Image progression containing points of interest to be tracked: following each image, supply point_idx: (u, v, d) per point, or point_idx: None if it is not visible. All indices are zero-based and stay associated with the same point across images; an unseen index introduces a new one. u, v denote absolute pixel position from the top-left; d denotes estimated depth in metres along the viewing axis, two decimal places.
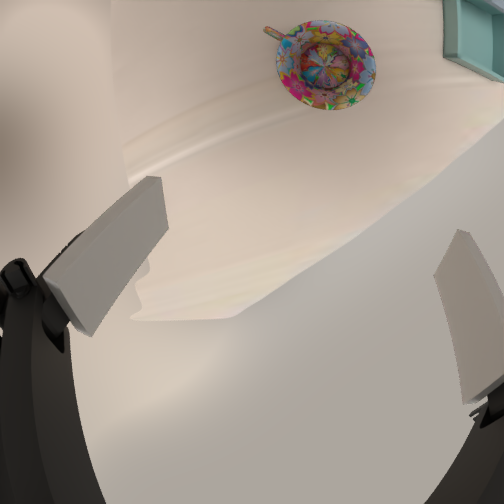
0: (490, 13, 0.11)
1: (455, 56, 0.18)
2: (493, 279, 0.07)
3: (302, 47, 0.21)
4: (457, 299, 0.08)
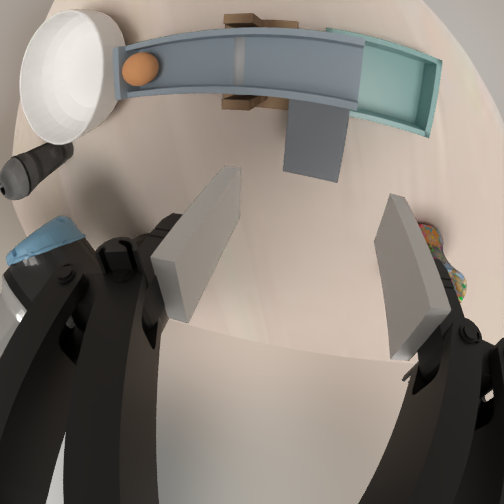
0: None
1: (426, 136, 0.22)
2: (420, 234, 0.08)
3: None
4: (388, 257, 0.10)
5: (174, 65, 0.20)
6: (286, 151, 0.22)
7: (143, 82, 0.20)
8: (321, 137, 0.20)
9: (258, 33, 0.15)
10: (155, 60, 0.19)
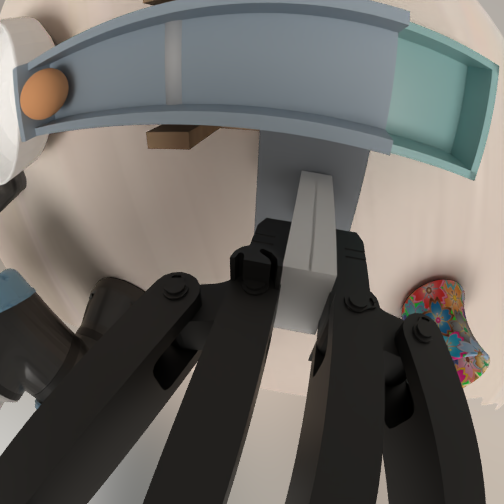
0: None
1: None
2: (333, 207, 0.09)
3: None
4: None
5: (88, 80, 0.12)
6: (257, 214, 0.14)
7: (46, 114, 0.11)
8: None
9: (195, 7, 0.07)
10: (59, 78, 0.10)
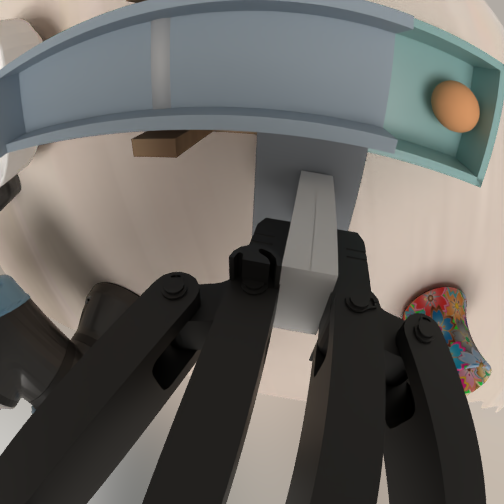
0: None
1: None
2: (334, 208, 0.09)
3: None
4: None
5: (62, 88, 0.10)
6: (255, 218, 0.14)
7: None
8: None
9: (193, 2, 0.06)
10: None
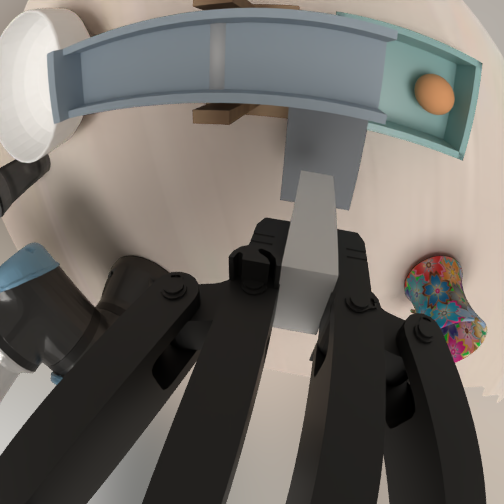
0: None
1: None
2: (335, 208, 0.09)
3: None
4: None
5: (127, 67, 0.14)
6: (284, 175, 0.18)
7: None
8: (331, 155, 0.16)
9: (249, 16, 0.10)
10: None
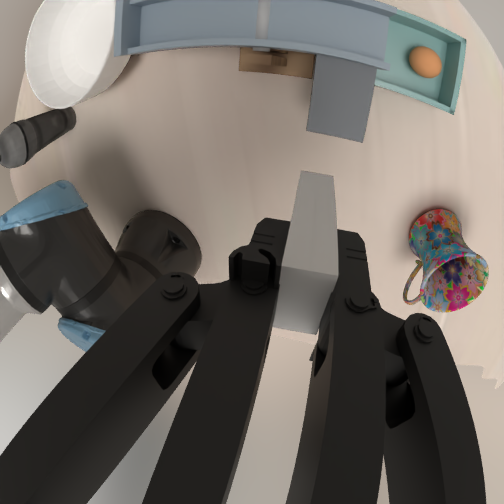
0: None
1: (450, 113, 0.18)
2: (335, 207, 0.09)
3: (428, 277, 0.28)
4: None
5: (185, 20, 0.16)
6: (311, 110, 0.20)
7: None
8: (348, 96, 0.18)
9: None
10: None
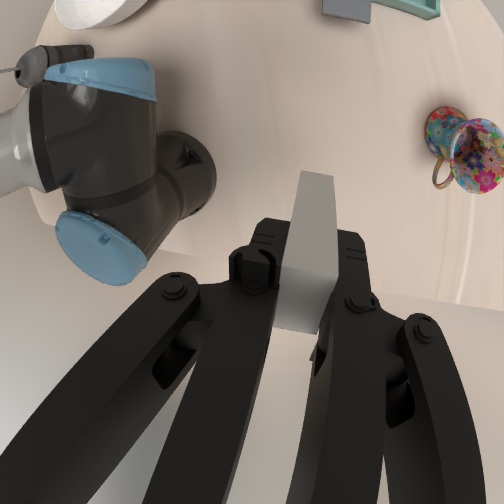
0: None
1: (437, 16, 0.15)
2: (335, 208, 0.09)
3: (453, 161, 0.25)
4: None
5: None
6: None
7: None
8: None
9: None
10: None
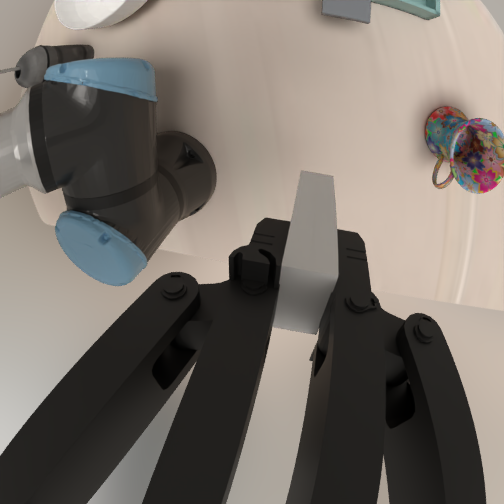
0: None
1: (437, 16, 0.15)
2: (335, 208, 0.09)
3: (453, 161, 0.25)
4: None
5: None
6: None
7: None
8: None
9: None
10: None
